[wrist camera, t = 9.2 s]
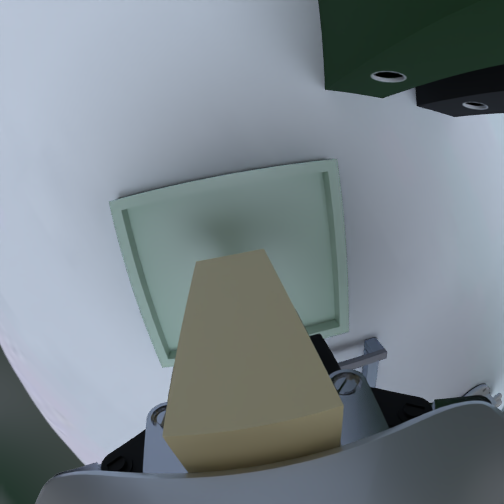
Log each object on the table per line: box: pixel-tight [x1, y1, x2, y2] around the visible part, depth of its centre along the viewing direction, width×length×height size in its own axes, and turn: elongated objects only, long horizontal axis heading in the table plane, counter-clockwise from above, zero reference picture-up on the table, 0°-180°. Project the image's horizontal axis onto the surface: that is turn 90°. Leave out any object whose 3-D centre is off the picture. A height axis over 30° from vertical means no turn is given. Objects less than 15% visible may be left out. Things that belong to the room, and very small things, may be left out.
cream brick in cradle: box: [162, 249, 344, 473], centre depth 9 cm, size 3×7×9 cm, turn 9°
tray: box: [109, 159, 349, 368], centre depth 21 cm, size 16×14×2 cm
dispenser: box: [338, 338, 387, 388], centre depth 24 cm, size 8×18×8 cm, turn 10°
